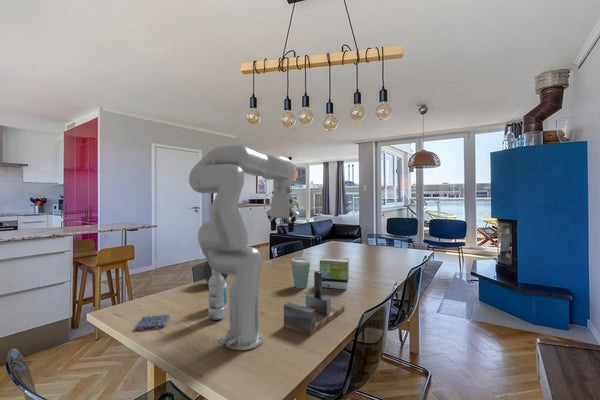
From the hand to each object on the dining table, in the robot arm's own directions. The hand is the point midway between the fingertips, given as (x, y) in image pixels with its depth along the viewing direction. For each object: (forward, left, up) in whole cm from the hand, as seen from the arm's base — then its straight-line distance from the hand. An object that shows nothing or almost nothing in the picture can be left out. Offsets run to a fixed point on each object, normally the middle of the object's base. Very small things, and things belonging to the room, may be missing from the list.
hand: (282, 231), depth 124 cm
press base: (-1, -18, -33) cm, 38 cm away
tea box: (+40, -4, -34) cm, 52 cm away
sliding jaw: (0, -18, -31) cm, 36 cm away
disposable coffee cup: (+28, +10, -34) cm, 45 cm away
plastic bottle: (-24, +14, -34) cm, 44 cm away
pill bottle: (-17, +22, -34) cm, 44 cm away
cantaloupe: (+5, +51, -34) cm, 61 cm away
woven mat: (-41, +30, -34) cm, 61 cm away
